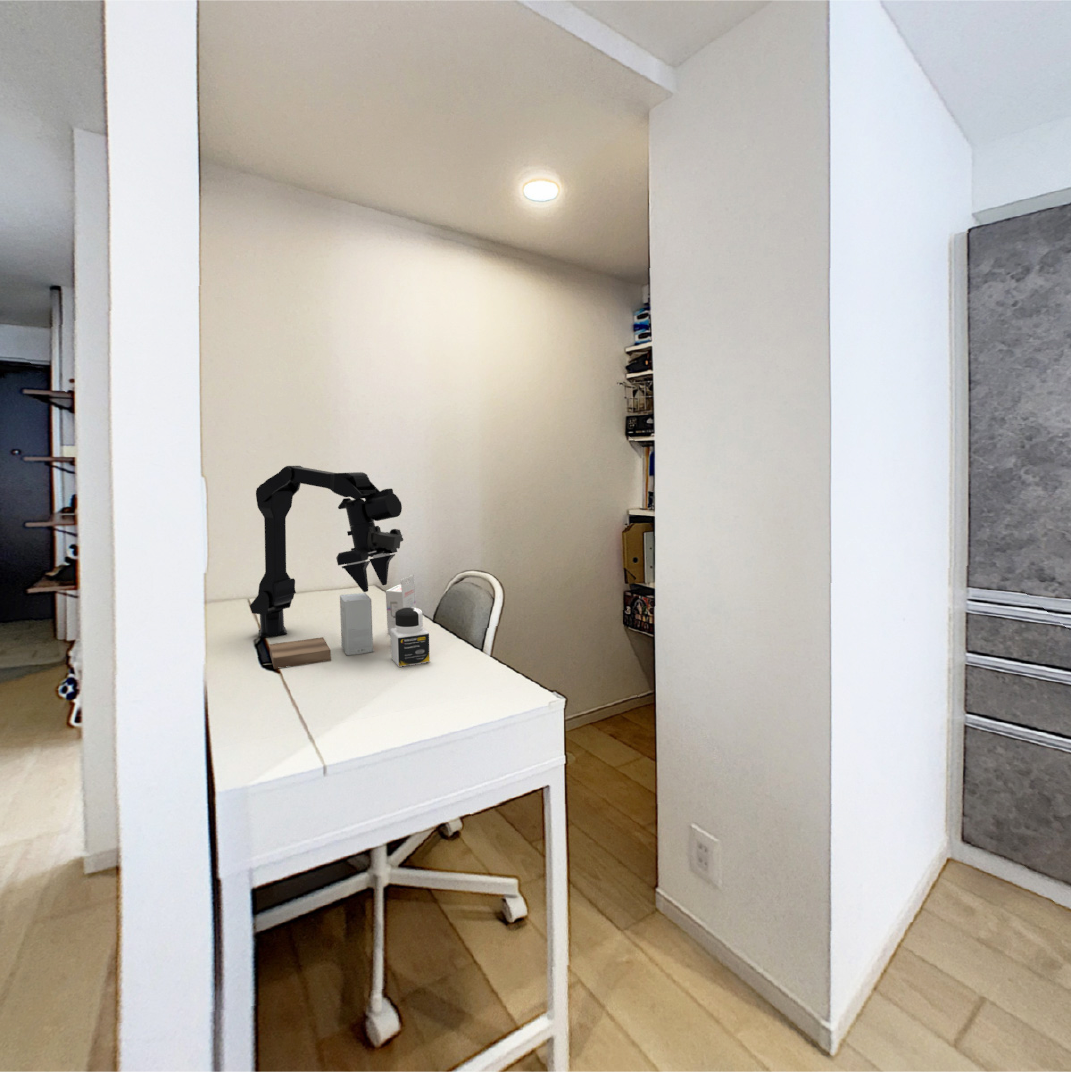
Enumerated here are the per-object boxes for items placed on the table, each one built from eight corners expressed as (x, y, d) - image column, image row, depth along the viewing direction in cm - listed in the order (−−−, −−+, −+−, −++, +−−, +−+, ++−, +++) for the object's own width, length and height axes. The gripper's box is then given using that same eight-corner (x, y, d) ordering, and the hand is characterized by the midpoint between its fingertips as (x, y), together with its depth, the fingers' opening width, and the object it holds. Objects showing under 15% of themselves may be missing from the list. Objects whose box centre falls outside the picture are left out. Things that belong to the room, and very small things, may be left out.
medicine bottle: (398, 667, 132) (397, 614, 130) (390, 658, 138) (389, 607, 136) (430, 662, 135) (428, 611, 133) (420, 653, 141) (419, 604, 140)
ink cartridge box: (400, 625, 165) (398, 573, 163) (416, 626, 164) (415, 573, 162) (386, 634, 157) (384, 579, 155) (404, 635, 156) (402, 580, 154)
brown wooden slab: (270, 654, 140) (269, 644, 140) (323, 647, 146) (323, 637, 146) (274, 669, 131) (273, 658, 130) (331, 660, 136) (330, 649, 136)
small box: (373, 652, 142) (371, 598, 140) (346, 656, 139) (343, 601, 138) (367, 642, 149) (365, 592, 148) (341, 646, 147) (338, 594, 145)
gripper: (373, 520, 131) (387, 590, 132) (409, 515, 149) (422, 576, 150) (328, 529, 134) (343, 597, 134) (370, 524, 152) (382, 583, 152)
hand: (375, 588), depth 143 cm, fingers open, 9 cm apart
